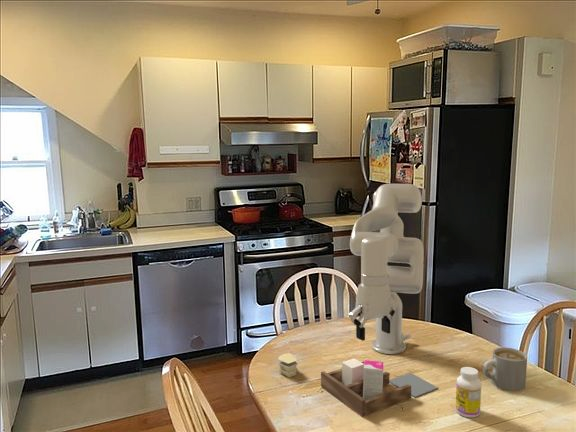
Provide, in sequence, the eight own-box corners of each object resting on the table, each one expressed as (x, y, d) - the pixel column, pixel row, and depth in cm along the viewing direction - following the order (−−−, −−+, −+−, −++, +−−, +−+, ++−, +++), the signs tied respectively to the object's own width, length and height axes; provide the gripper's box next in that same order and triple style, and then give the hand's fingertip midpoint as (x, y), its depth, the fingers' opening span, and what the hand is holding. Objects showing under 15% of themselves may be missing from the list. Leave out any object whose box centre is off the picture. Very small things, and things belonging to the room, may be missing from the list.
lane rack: (367, 371, 164) (367, 357, 164) (411, 397, 147) (411, 382, 146) (321, 386, 155) (320, 372, 154) (362, 417, 137) (362, 400, 136)
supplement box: (382, 406, 143) (383, 369, 141) (362, 404, 144) (362, 368, 142) (382, 395, 148) (383, 360, 147) (363, 394, 150) (363, 359, 148)
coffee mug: (518, 376, 159) (520, 347, 157) (530, 391, 149) (532, 361, 148) (476, 375, 160) (477, 346, 159) (485, 390, 150) (487, 360, 149)
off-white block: (354, 381, 158) (354, 358, 157) (364, 387, 154) (364, 364, 152) (342, 385, 155) (342, 362, 154) (351, 392, 151) (351, 368, 150)
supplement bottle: (451, 406, 142) (453, 365, 140) (473, 405, 142) (475, 364, 140) (461, 419, 135) (463, 376, 133) (484, 417, 136) (486, 375, 134)
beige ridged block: (307, 374, 163) (307, 359, 163) (286, 383, 158) (285, 367, 157) (289, 364, 171) (289, 349, 170) (268, 371, 166) (268, 356, 165)
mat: (410, 373, 162) (410, 372, 162) (437, 388, 152) (437, 387, 152) (387, 381, 157) (387, 380, 157) (414, 397, 147) (415, 396, 147)
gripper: (387, 272, 148) (386, 325, 150) (342, 281, 139) (342, 337, 142) (405, 277, 141) (404, 333, 144) (359, 287, 133) (358, 346, 135)
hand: (373, 335), depth 143 cm, fingers open, 9 cm apart
